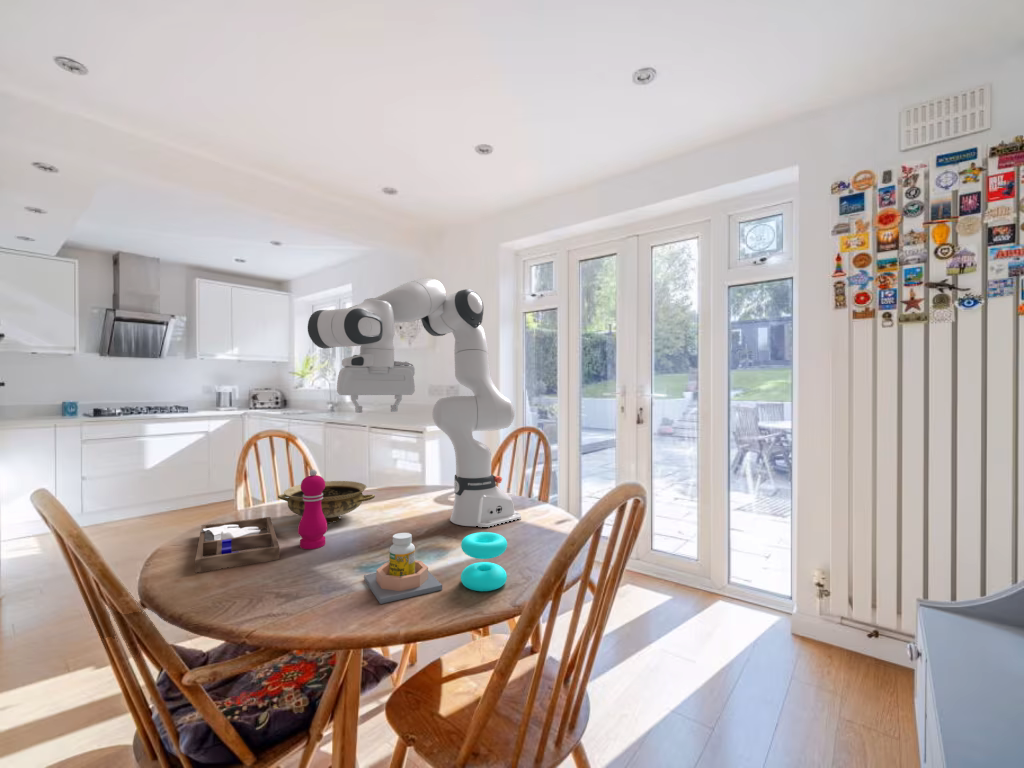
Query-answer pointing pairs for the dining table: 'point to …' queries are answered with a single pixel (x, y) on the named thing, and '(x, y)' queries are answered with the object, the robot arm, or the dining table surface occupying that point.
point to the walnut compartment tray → (238, 546)
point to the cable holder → (227, 546)
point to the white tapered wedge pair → (228, 532)
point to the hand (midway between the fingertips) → (376, 412)
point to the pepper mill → (312, 513)
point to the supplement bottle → (402, 555)
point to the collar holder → (401, 583)
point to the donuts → (483, 573)
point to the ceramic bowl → (330, 498)
